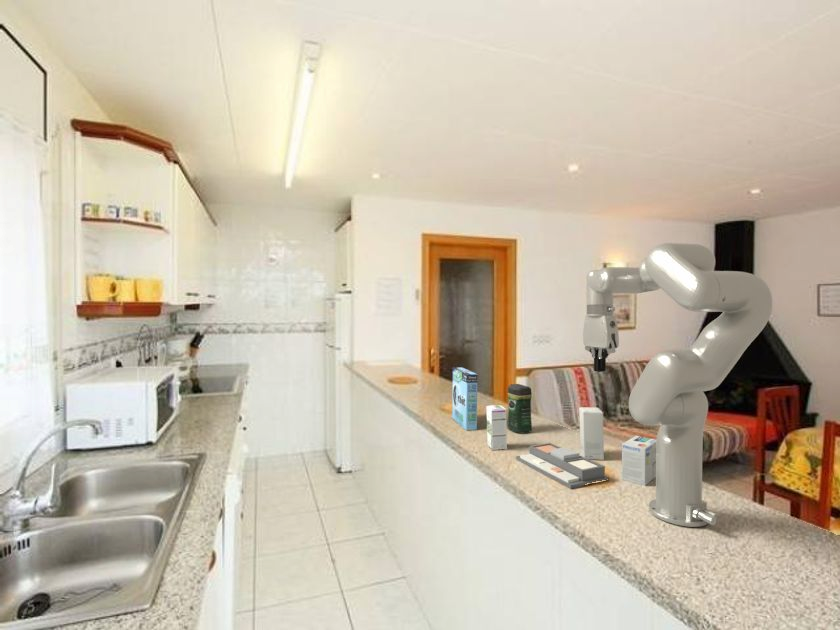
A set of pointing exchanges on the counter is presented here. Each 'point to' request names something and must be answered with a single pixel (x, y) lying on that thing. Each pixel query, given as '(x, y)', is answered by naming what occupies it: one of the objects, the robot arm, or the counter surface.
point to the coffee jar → (519, 408)
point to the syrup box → (496, 427)
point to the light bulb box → (639, 460)
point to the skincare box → (591, 433)
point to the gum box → (464, 398)
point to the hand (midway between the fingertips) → (599, 371)
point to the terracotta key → (546, 448)
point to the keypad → (562, 468)
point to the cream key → (582, 464)
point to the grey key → (564, 453)
